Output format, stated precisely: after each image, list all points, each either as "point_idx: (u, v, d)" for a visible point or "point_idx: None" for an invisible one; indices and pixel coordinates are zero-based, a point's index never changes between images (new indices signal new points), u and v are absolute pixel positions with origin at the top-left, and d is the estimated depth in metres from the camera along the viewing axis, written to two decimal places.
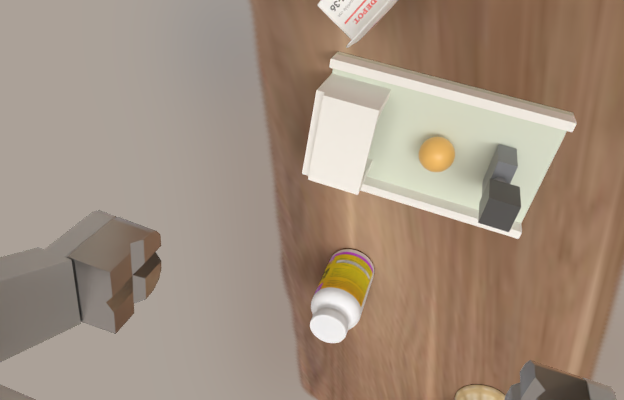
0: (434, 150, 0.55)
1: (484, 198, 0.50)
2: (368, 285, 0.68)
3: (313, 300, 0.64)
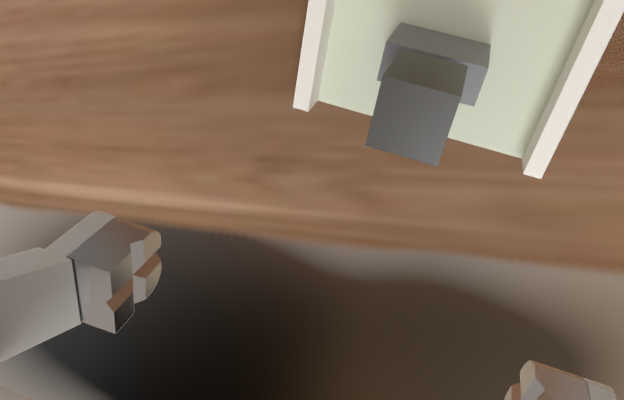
0: None
1: (431, 70, 0.20)
2: None
3: None
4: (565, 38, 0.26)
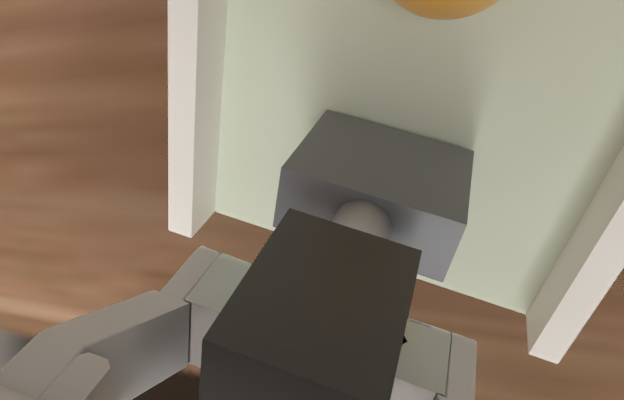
0: None
1: (336, 285, 0.09)
2: None
3: None
4: (601, 147, 0.15)
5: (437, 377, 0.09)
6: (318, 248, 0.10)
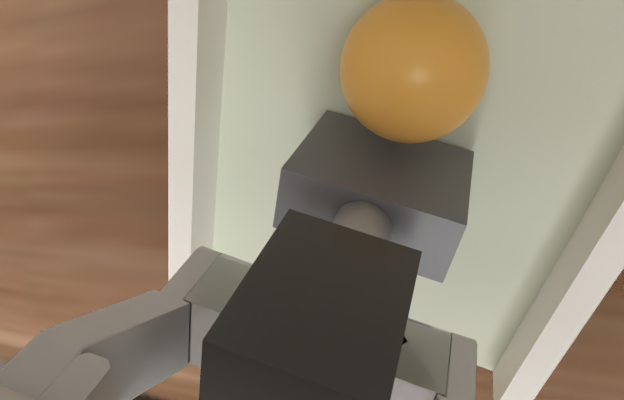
0: (454, 83, 0.12)
1: (336, 286, 0.09)
2: None
3: None
4: (553, 235, 0.17)
5: (437, 377, 0.09)
6: (318, 249, 0.10)
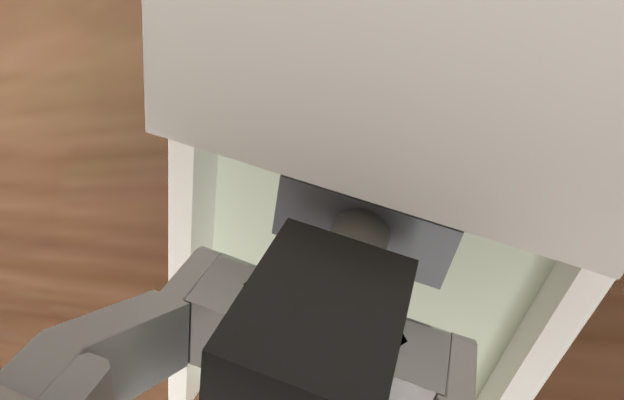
0: None
1: (334, 296, 0.09)
2: None
3: None
4: None
5: (437, 377, 0.09)
6: (316, 258, 0.10)
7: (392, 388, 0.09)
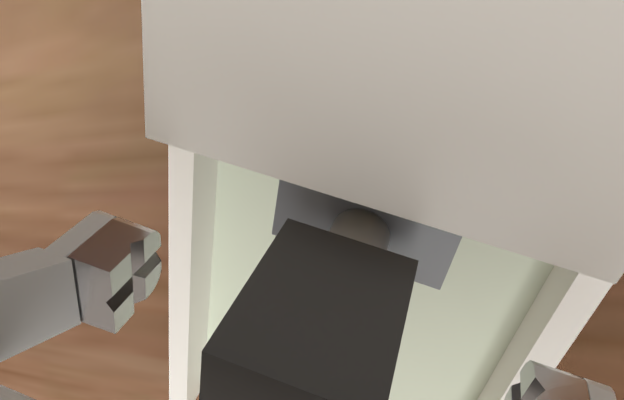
0: None
1: (334, 296, 0.09)
2: None
3: None
4: (469, 387, 0.22)
5: None
6: (316, 258, 0.10)
7: None
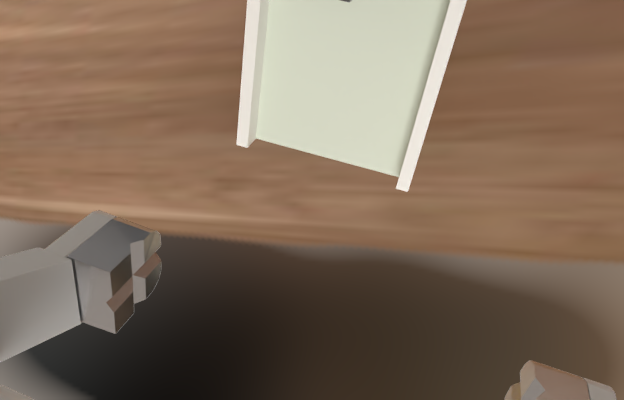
0: None
1: None
2: None
3: None
4: (414, 97, 0.39)
5: None
6: None
7: None
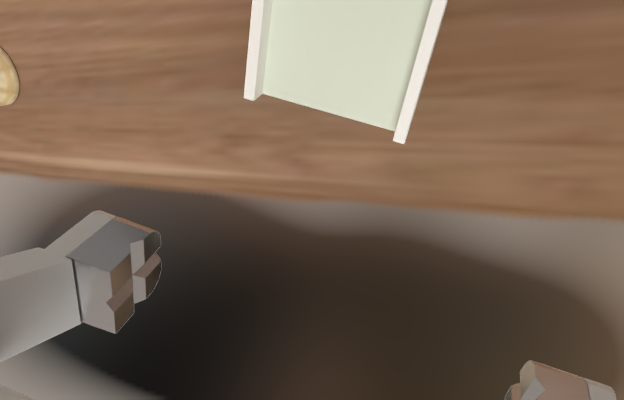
0: None
1: None
2: None
3: None
4: (412, 52, 0.41)
5: None
6: None
7: None
